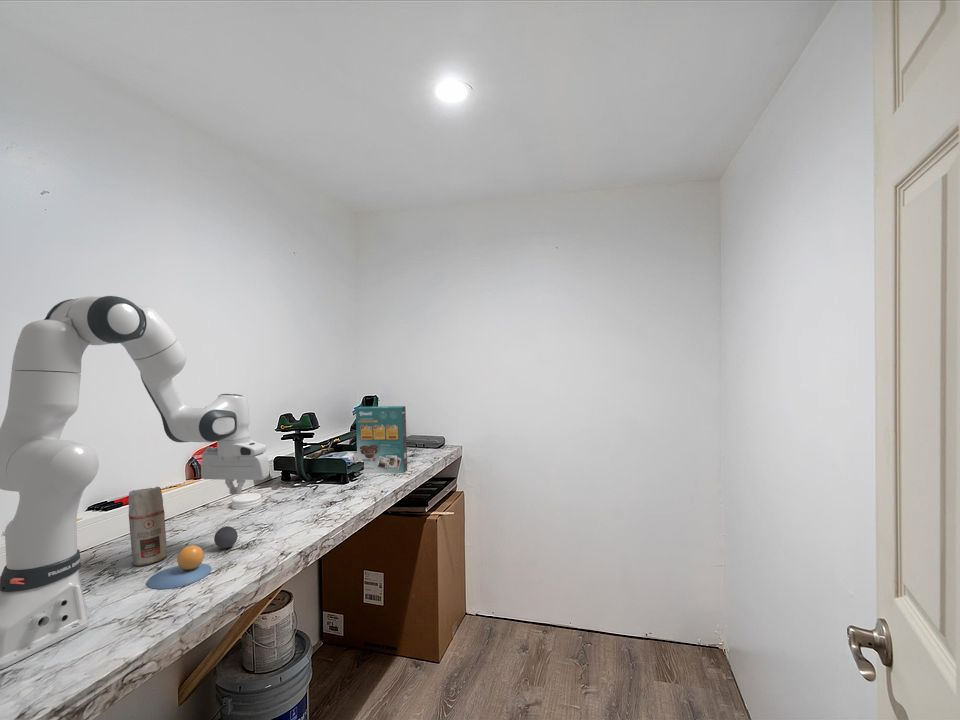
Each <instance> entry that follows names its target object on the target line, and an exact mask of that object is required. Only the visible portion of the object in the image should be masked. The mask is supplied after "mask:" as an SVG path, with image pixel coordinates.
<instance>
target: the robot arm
mask: <svg viewBox="0 0 960 720" xmlns="http://www.w3.org/2000/svg"><path fill="white" fill-rule="evenodd" d="M112 344H120V345H122V346H123V348H125V350H126V352H127V354H128V356H129V357H130V358H131V360H132V361H133V362H134V364H135V365H136V368H137V369H138V371H139V374H140V379H141V381H142V384H143V386H144V388H145V389H146V392H147V393H148V396H149V397H150V399H151V400H152V402H153V404H154V406H155V407H156V408H155V409H156V410H157V411H158V413H159V416H160V417H161V421H162V425H163V429H164V432H165V434H166V436H167V437H168V438H169V439H170V440H171V441H172V442H175V443H190V442H191V443H210V444H211V443H214V442H216V444H217V446H216V447H207V448H206V449H204V450H203V452H201V453H202V454H201V455H202V456H201V458H202V461H201V466H200V469H201V470H200V476H201V478H202V479H203V480H221V481H222V480H225V482H224V483H225V485H226V487H227V488H228V491H229V495H242V493H243V487H244V485H245V483H246V481H261V480H264V479H266V478H268V476H269V474H270V463H269V457H268V455H267V454H266V453H265V452H266V451H267V445H266V444H265V443H260V442H257V441H255V440H253V439H251V433H250V432H249V425H250V409H249V404H248V399H247V398H246V397H245V396H243V395H242V394H236V393H233V394H232V393H221V394H218V395H217V398H216V399H215V400H213V402H211V403H210V404H207V405H206V406H205V407H193V406H189V405H187V404H186V403H184V402H183V400H182V398H181V397H180V395H179V392H178V391H177V389H176V387H175V385H174V383H173V378H175V377H176V376H177V375H178V374H179V373H181V371H183V369H184V368H185V366H186V363H187V354H186V351H185V349H184V347H183V345H182V343H181V342H180V340H179V339H178V337H177V336H176V334H175V332H174V331H173V330H172V329H171V327H170V326H169V324H168V323H167V322H166V321H165V320H164V318H163V317H162V316H161V315H160V314H159V313H158V312H157V311H156V310H155V309H153V308H152V307H150V306H146V305H137V304H136V303H134V302H133V301H131V300H129V299H128V298H127V299H126V298H123V297H120V296H116V295H105V296H95V295H94V296H93V295H90V296H89V295H88V296H81V297H79V298H77V297H76V298H71V299H66V300H63V301H60V302H58V303H57V304H55V305H54V306H53V307H51V308H50V310H49V311H48V313H46V316H45V318H44V319H40V320H36V321H31V322H29V323H27V324H26V325H24V327H22V329H21V331H20V334H19V336H18V339H17V343H16V345H15V349H14V353H13V358H12V364H11V371H10V373H11V374H10V380H9V381H10V382H9V391H8V392H9V393H8V399H7V406H6V411H5V415H4V417H3V420H2V422H1V426H0V490H3V491H7V492H18V495H19V500H18V504H17V509H16V512H15V514H14V517H13V519H11V521H10V522H8V523H7V525H6V526H5V529H4V541H5V542H4V544H5V561H6V563H5V564H6V565H5V566H4V567H3V569H2V572H1V575H0V670H4V669H5V668H8V667H10V666H12V665H14V664H15V663H18V662H20V661H21V660H24V659H25V658H28V657H30V656H31V655H33V654H36V653H38V652H40V651H42V650H44V649H47V648H48V647H50V646H53V645H54V644H56V643H58V642H60V641H62V640H64V639H66V638H68V637H70V636H72V635H75V634H76V633H78V632H80V631H82V630H84V629H86V628H87V627H89V619H88V618H89V617H90V615H91V611H90V609H89V607H88V605H87V602H86V599H85V596H84V592H83V588H82V582H81V578H80V569H81V566H82V560H81V551H80V550H79V549H78V531H77V529H78V528H77V527H78V526H77V525H78V524H77V521H78V519H77V516H78V512H79V511H78V510H79V506H80V503H81V499H82V497H83V493H84V491H85V489H86V488H87V487H88V486H90V484H91V483H92V482H93V481H94V479H95V478H96V477H97V474H98V471H99V467H100V464H99V458H98V456H97V454H96V452H95V451H94V450H93V449H92V448H90V447H89V446H87V445H85V444H82V443H79V442H76V441H74V440H70V439H61V436H62V433H63V431H64V427H65V426H66V423H67V422H68V420H69V419H70V418H71V417H72V416H73V415H74V414H75V413H76V412H77V411H78V408H79V400H80V390H81V377H82V374H81V373H82V358H83V354H84V353H85V350H86V349H87V348H88V346H89V345H90V346H105V345H112ZM235 480H236V484H237V486H236V485H234V481H235Z"/></svg>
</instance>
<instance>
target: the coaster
mask: <svg viewBox="0 0 960 720" xmlns="http://www.w3.org/2000/svg"><path fill="white" fill-rule="evenodd" d="M230 501H231V508H232V509H233V510H249V509H254V508H257V507H259V506H260V505H262V494H260V493H255V492H251V493H243V494H242V493H241V494H237V495H236V496H233V497H232V499H231V500H230Z"/></svg>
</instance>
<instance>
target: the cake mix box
mask: <svg viewBox="0 0 960 720" xmlns="http://www.w3.org/2000/svg"><path fill="white" fill-rule="evenodd" d="M406 411H407V410H406V405H404V406H403V405H400V406H399V405H398V406H397V405H396V406H393V405H392V406H391V405H389V406H387V405H386V406H385V405H384V406H379V405H378V406H359V407H355V427H356V460H357V459H358V460H359V461H363V462H364V470H363V471H361V472H360V473H359V474H405V473H407V471H408V449H407V447H408V445H407V418H406V417H407V416H406Z"/></svg>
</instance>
